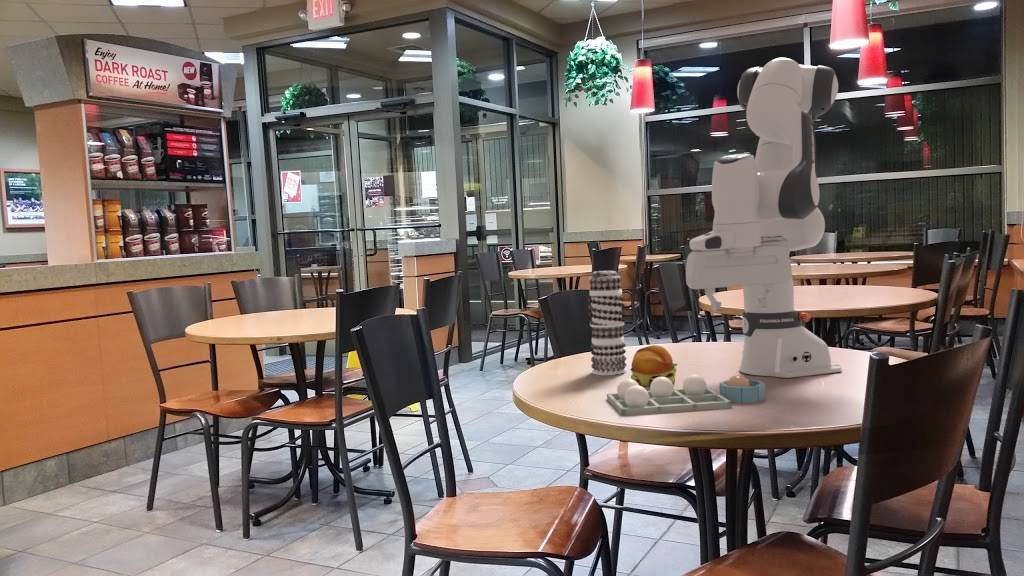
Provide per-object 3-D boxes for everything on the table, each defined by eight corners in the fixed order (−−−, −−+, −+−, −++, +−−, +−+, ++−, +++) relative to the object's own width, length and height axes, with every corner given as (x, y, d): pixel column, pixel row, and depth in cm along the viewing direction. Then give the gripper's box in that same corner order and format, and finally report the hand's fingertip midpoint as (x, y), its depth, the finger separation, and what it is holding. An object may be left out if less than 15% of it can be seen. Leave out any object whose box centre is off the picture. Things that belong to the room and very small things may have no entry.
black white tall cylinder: (589, 376, 184) (584, 273, 182) (591, 369, 193) (587, 270, 191) (627, 375, 182) (622, 271, 181) (628, 368, 191) (624, 269, 190)
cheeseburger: (680, 380, 173) (678, 339, 170) (675, 401, 164) (672, 358, 161) (636, 378, 176) (633, 339, 173) (628, 399, 167) (625, 358, 164)
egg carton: (707, 395, 156) (706, 370, 156) (732, 411, 142) (731, 383, 142) (607, 402, 155) (606, 376, 154) (622, 419, 141) (621, 390, 140)
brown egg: (748, 389, 152) (739, 369, 152) (757, 394, 147) (748, 373, 147) (728, 399, 152) (718, 379, 151) (736, 405, 147) (727, 384, 147)
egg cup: (755, 395, 154) (754, 377, 154) (772, 404, 146) (771, 385, 146) (714, 398, 154) (713, 380, 153) (729, 407, 145) (728, 388, 145)
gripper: (782, 234, 151) (784, 303, 152) (681, 241, 150) (684, 311, 151) (796, 234, 145) (798, 306, 146) (691, 242, 144) (694, 314, 145)
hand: (740, 309), depth 149 cm, fingers open, 8 cm apart
